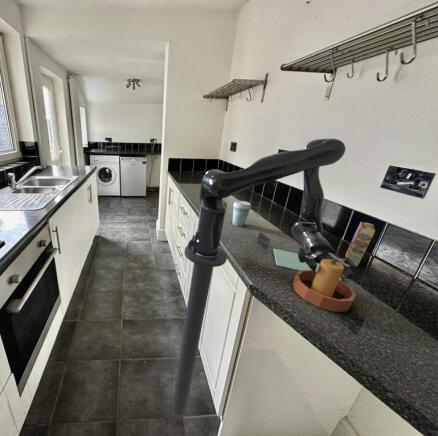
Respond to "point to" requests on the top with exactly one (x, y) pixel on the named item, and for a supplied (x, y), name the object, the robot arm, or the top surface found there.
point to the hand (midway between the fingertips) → (332, 272)
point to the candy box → (360, 242)
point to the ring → (320, 299)
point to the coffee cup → (240, 212)
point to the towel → (291, 261)
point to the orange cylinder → (327, 277)
